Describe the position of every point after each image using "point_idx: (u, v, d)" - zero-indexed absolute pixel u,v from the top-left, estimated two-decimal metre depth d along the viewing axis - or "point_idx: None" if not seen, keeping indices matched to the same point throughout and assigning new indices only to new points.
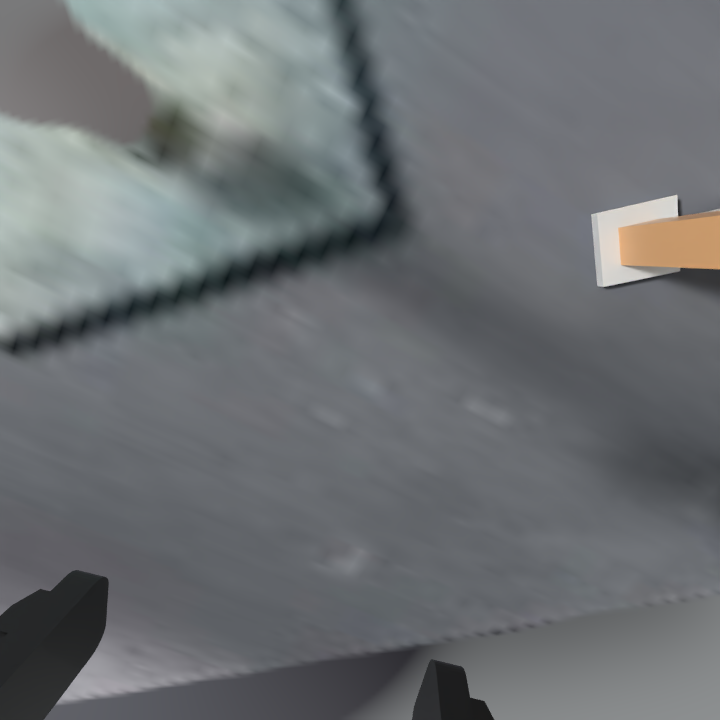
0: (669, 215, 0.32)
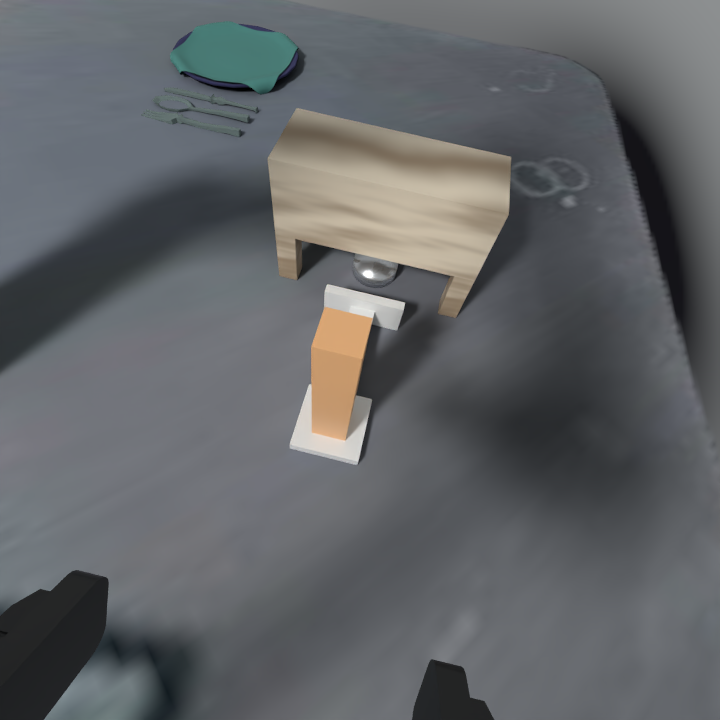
0: None
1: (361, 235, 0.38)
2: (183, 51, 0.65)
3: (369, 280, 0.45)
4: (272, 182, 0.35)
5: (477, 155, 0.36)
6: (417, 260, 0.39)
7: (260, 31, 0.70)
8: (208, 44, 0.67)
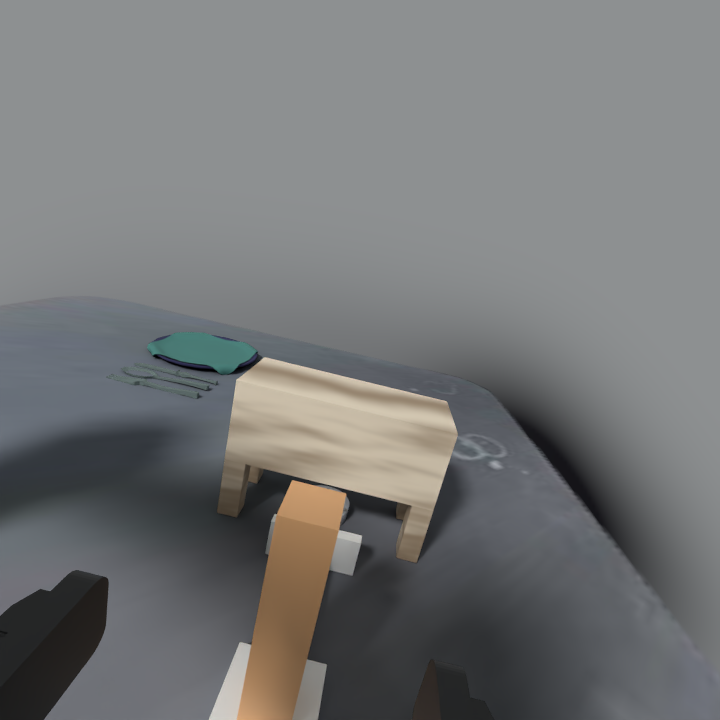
0: None
1: (317, 459, 0.37)
2: (160, 344, 0.78)
3: None
4: (235, 403, 0.36)
5: (419, 397, 0.42)
6: (373, 486, 0.37)
7: (228, 340, 0.89)
8: (182, 343, 0.82)
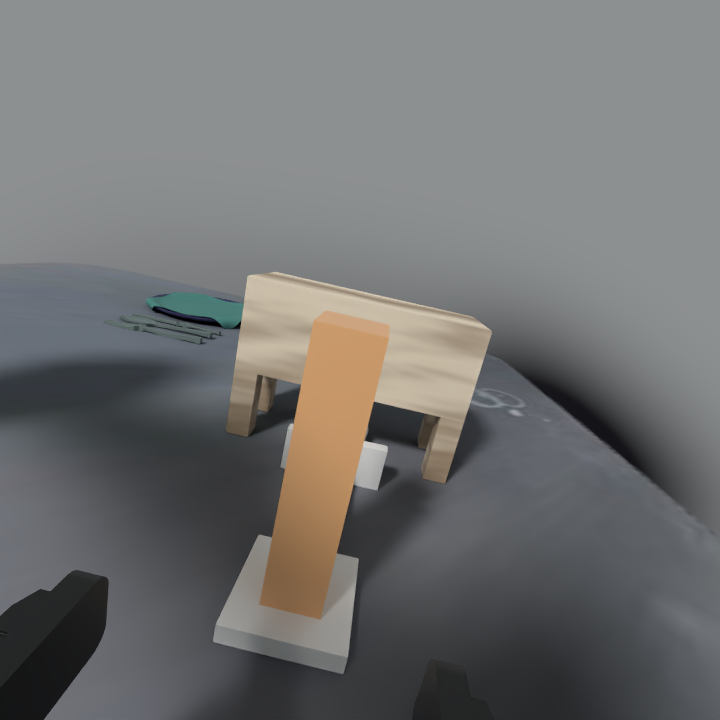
0: None
1: None
2: (159, 300, 0.75)
3: None
4: (246, 303, 0.33)
5: (443, 311, 0.39)
6: (398, 396, 0.34)
7: (229, 302, 0.85)
8: (182, 301, 0.79)
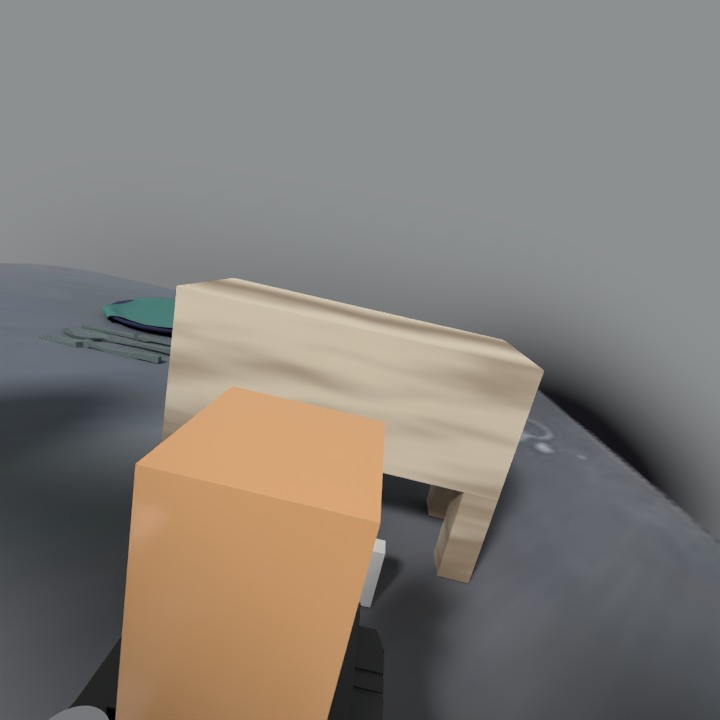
0: None
1: None
2: (119, 307, 0.64)
3: None
4: (176, 326, 0.22)
5: (464, 332, 0.28)
6: (401, 461, 0.23)
7: None
8: (148, 308, 0.68)
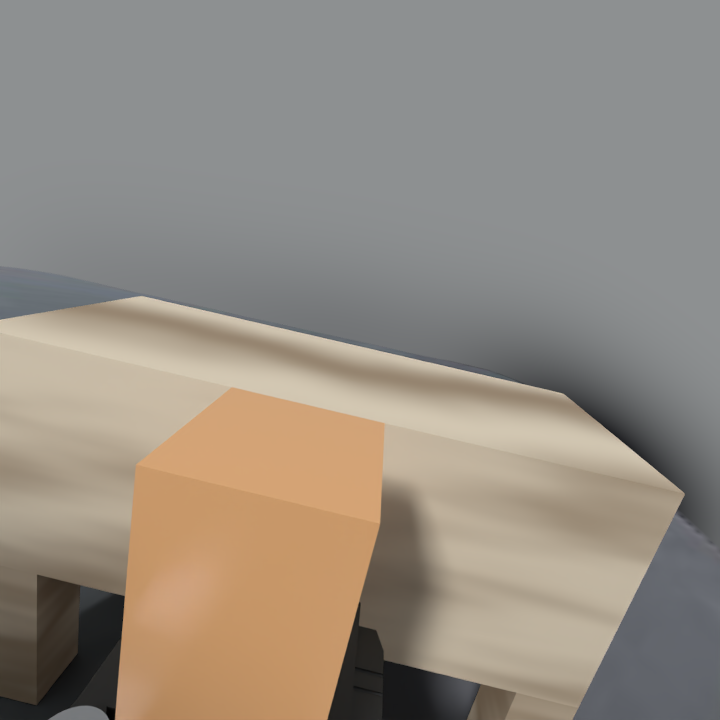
0: None
1: None
2: None
3: None
4: None
5: (503, 385, 0.18)
6: (404, 640, 0.13)
7: None
8: None
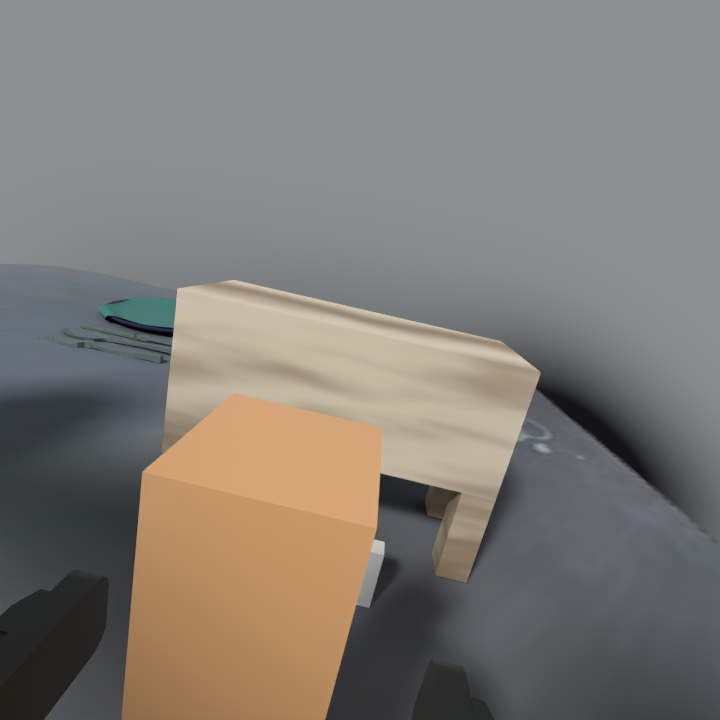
0: None
1: None
2: (115, 307, 0.64)
3: None
4: (176, 328, 0.22)
5: (462, 334, 0.28)
6: (400, 462, 0.23)
7: None
8: (144, 308, 0.69)
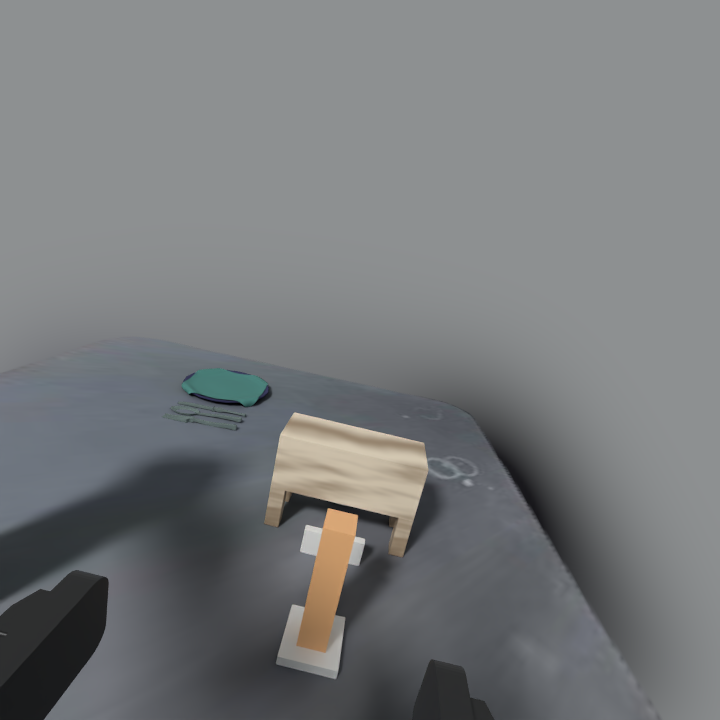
0: (303, 612, 0.44)
1: (334, 487, 0.55)
2: (190, 382, 0.96)
3: None
4: (278, 450, 0.54)
5: (404, 441, 0.60)
6: (372, 505, 0.55)
7: (241, 374, 1.07)
8: (206, 379, 1.00)
